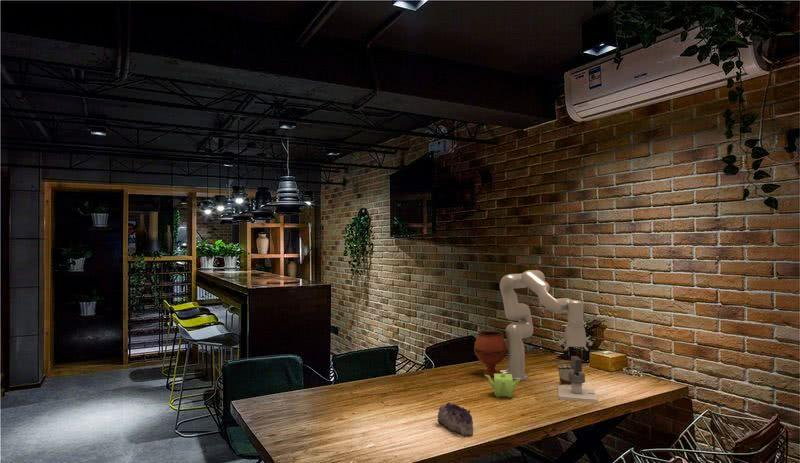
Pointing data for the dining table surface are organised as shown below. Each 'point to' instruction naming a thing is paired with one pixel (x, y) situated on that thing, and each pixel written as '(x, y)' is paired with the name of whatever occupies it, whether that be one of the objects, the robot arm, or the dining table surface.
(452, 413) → the geode
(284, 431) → the dining table surface
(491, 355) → the goblet
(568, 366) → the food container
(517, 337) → the robot arm
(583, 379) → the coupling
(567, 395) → the post base
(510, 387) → the kettle
